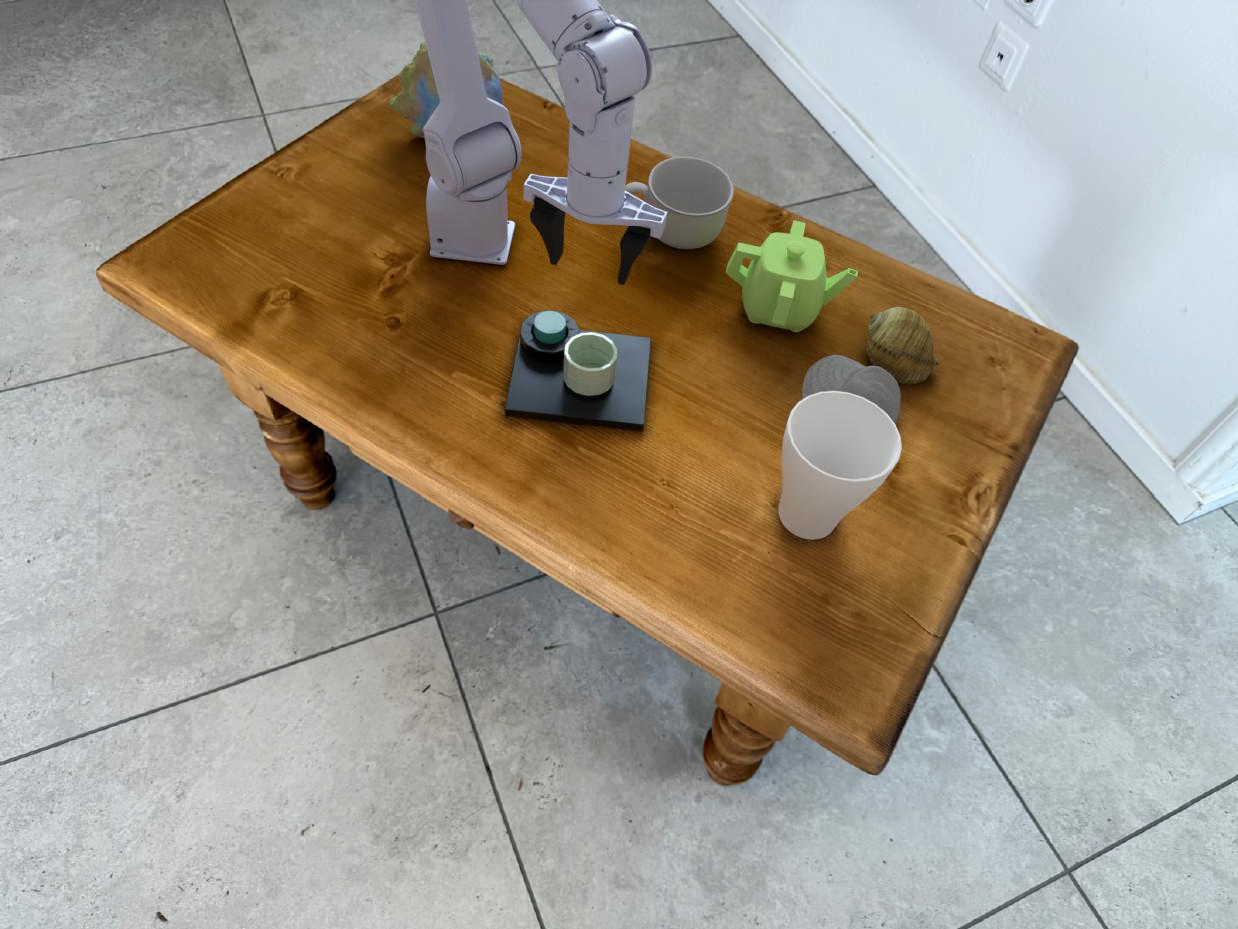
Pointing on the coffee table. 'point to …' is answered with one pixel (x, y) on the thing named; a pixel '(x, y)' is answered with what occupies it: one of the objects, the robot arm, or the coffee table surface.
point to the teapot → (786, 279)
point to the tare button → (549, 327)
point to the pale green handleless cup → (589, 363)
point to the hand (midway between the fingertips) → (590, 268)
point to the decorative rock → (432, 89)
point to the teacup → (688, 200)
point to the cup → (833, 460)
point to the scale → (550, 399)
